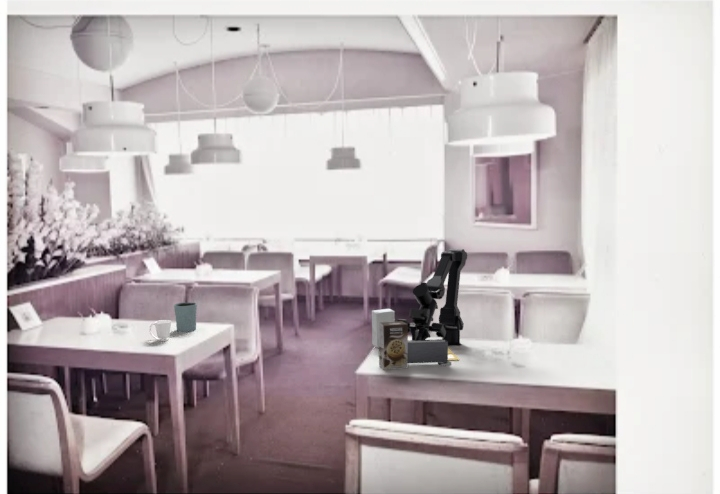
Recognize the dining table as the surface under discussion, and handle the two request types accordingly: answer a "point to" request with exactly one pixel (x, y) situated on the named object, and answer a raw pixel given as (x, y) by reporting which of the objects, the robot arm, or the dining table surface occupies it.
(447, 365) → the flange
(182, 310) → the teal tapered pot
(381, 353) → the cookie box
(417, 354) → the gray rectangular panel
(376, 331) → the skincare box
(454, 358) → the left label plate
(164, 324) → the cup
